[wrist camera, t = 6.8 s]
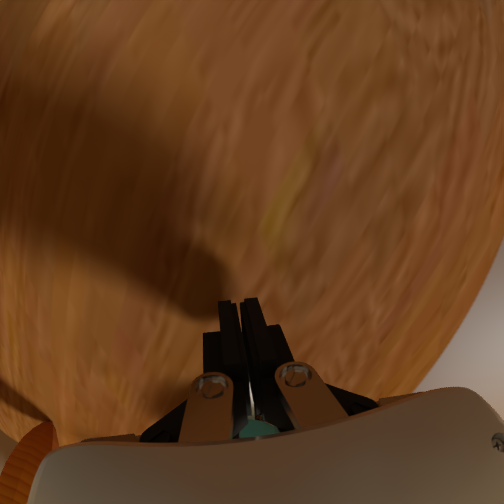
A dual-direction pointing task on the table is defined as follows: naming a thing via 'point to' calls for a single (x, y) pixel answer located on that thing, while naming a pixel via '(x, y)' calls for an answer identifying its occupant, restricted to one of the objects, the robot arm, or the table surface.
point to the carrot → (26, 463)
